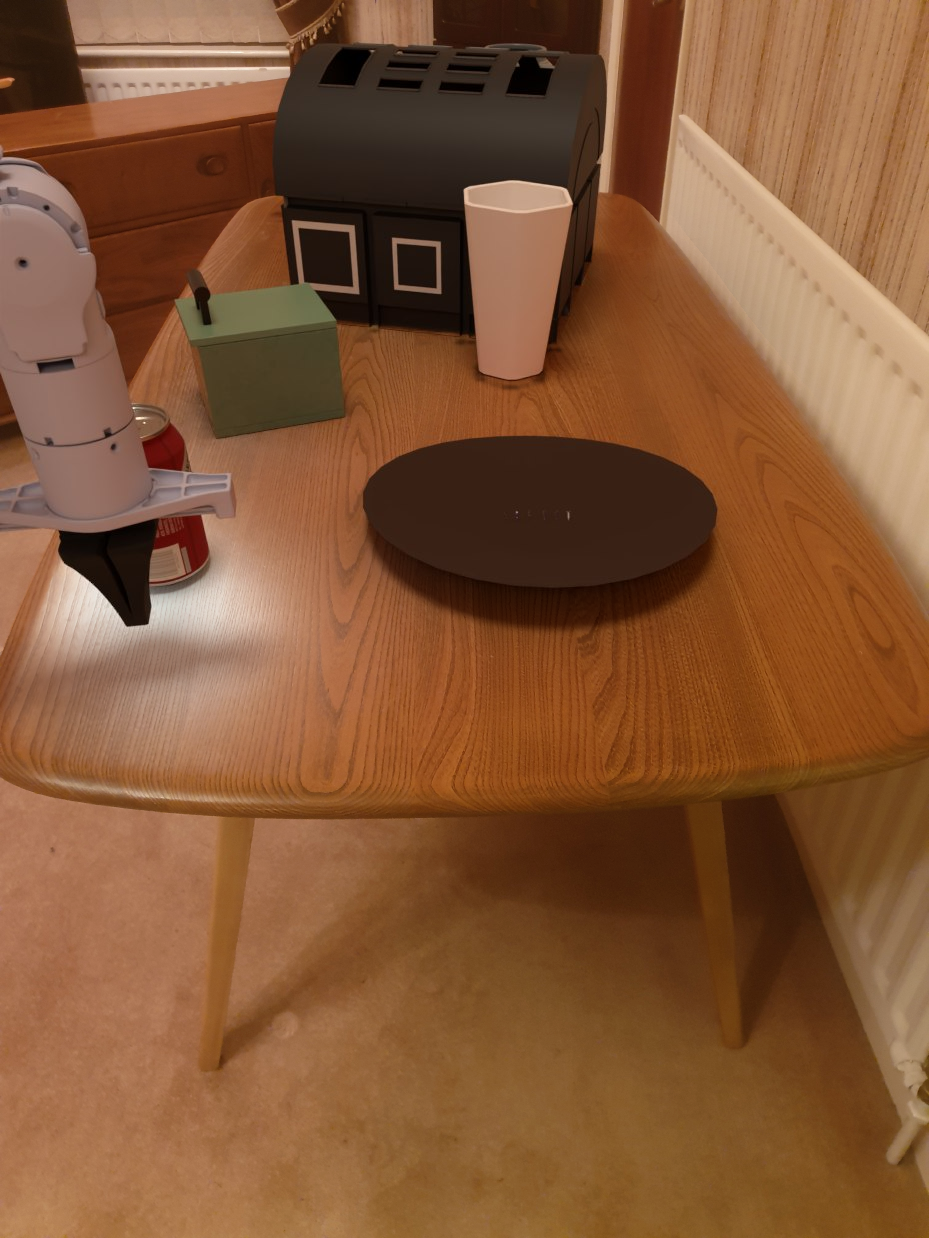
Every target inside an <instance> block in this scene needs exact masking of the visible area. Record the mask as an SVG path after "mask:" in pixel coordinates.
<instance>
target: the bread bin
mask: <svg viewBox="0 0 929 1238" xmlns="http://www.w3.org/2000/svg"><path fill="white" fill-rule="evenodd" d="M189 346H190V345H189ZM190 352H191V356H192V361H193V366H194V371H195V376H196V381H197V384H198V390H199V395H200V397H201V400H202V402H203V405H204V408H205V412H206V413H207V417H208V420H209V422H210V424H211V427H212V430H213V433H214V436H215V439H221V438H227V437H234V436H239V435H246V434H250V433H251V434H252V433H258V432H263V431H270V430H274V429H280V428H286V427H287V428H288V427H292V426H298V425H303V424H304V425H305V424H311V423H316V422H322V421H328V420H333V419H334V420H335V419H339V418H345V417H346V411H345V401H344V389H343V388H344V387H343V379H342V367H341V357H340V344H339V333H338V327H336V328H328V329H321V330H314V331H307V332H300V333H292V334H285V335H278V336H271V337H264V338H256V339H249V340H242V341H235V342H227V343H220V344H213V345H206V346H199V347H191V346H190Z"/></svg>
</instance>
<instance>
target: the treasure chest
mask: <svg viewBox="0 0 929 1238" xmlns="http://www.w3.org/2000/svg"><path fill="white" fill-rule="evenodd" d="M537 58H547V59H557V60H556V63H555V65H552V66H540V64H539V62H538V59H537ZM517 63H518V64H519V65H518V64H517ZM607 82H608V81H607V70H606V63H605V60H604V58H603V56H602V55H601V54H588V53H587V54H585V53H570V52H569V50H567V51H559V50H558V51H557V50H547V51H537V50H528V52H518V51H510V49H503V48H485V47H480V46H479V47H477V46H476V47H475V46H466V47H465V48H454V46H452V45H451V46H450V45H433V44H432V45H431V44H430V45H429V44H408V45H407V46H399V45H398V46H397V45H396V44H394V43H373V42H371V43H370V42H353V43H352V44H351V43H329V42H327V43H316V44H315V45H313V46H312V47H310V48H309V49H307V50H305V51H304V53H303V54H302V55H301V56H300V58H299V59H298V61H296V63H295V64H294V66H293V68H292V70H291V72H290V75H289V77H288V78H287V81H286V82H285V85H284V89H283V92H282V95H281V97H280V101H279V104H278V106H277V107H278V108H277V111H276V112H277V113H276V117H275V123H274V127H273V135H272V136H273V141H272V172H273V173H272V174H273V185H274V194H275V197H282V199H283V203H282V204H280V211H281V219H282V226H283V234H284V235H283V236H284V243H285V251H286V260H287V268H288V275H289V285H297V284H305V283H309V284H310V285H311V287H312V288H313V289H314V291H315V292H316V293H317V295H318V296H319V297H320V299H321V300H322V301H323V303H324V304H325V306H326V307H327V308H328V310H329V311H330V312H331V314H332V315H333V316H334V318H335V319H336V322H337V325H347V326H357V327H365V328H371V326H372V325H378V329H384V330H394V331H404V332H412V333H423V334H431V335H432V334H433V335H441V336H449V337H451V336H452V337H461V336H462V335H463V334H467V335H468V338H470V339H476V331H475V320H474V308H473V296H472V285H471V273H470V262H469V250H468V238H467V227H466V215H465V204H464V189H465V188H467V187H469V186H476V185H483V184H490V183H497V182H503V181H524V182H531V183H538V184H545V185H551V186H558V187H563V188H565V189H567V190H568V193H569V195H570V198H571V200H572V203H573V206H572V212H571V217H570V223H569V228H568V234H567V239H566V244H565V250H564V255H563V261H562V266H561V272H560V277H559V282H558V288H557V293H556V299H555V304H554V310H553V315H552V321H551V326H550V331H549V337H548V342H547V345H549V344H557V343H558V340H559V339H560V336H561V334H562V332H563V330H564V327H565V325H566V323H567V320H568V317H569V314H570V313H571V311H572V309H573V306H574V304H575V301H576V299H577V297H578V294H579V292H580V290H581V287H582V284H583V283H584V281H585V278H586V277H587V274H588V271H589V269H590V267H591V265H592V260H593V249H594V240H595V231H596V230H595V229H596V219H597V210H598V198H599V191H600V179H601V169H602V163H598V161H599V159H600V158H601V156H602V154H603V153H604V148H605V147H604V146H605V136H606V135H605V134H606V123H607V122H606V121H607V106H608V105H607V104H608V89H607V88H608V83H607Z"/></svg>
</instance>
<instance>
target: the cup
mask: <svg viewBox="0 0 929 1238" xmlns="http://www.w3.org/2000/svg"><path fill="white" fill-rule="evenodd" d="M464 204H465V215H466V227H467V238H468V250H469V262H470V273H471V285H472V296H473V308H474V320H475V331H476V338H475V341H476V342H475V343H476V352H477V353H476V355H477V366H478V371H479V372H480V373H482V374H484V375H486V376H491V377H495V378H500V379H503V380H506V381H507V380H509V381H510V380H511V381H514V380H521V379H525V378H527V377H532V376H536V375H539V374H540V373H541V372H543V369H544V364H545V358H546V354H547V353H546V352H547V347H548V344H547V342H548V337H549V331H550V326H551V321H552V315H553V310H554V304H555V299H556V293H557V288H558V282H559V277H560V272H561V266H562V261H563V255H564V250H565V244H566V239H567V234H568V228H569V223H570V217H571V212H572V206H573V203H572V200H571V198H570V195H569V193H568V190H567V189H565V188H563V187H558V186H551V185H545V184H538V183H531V182H524V181H503V182H497V183H490V184H483V185H476V186H469V187H467V188H465V189H464Z"/></svg>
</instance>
